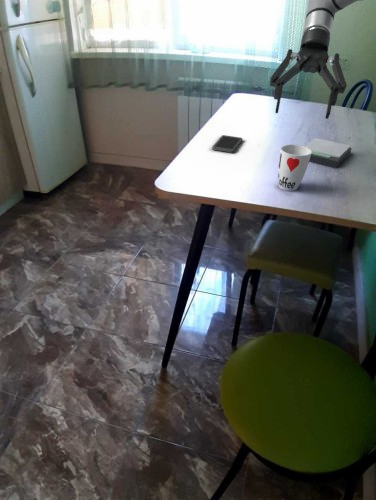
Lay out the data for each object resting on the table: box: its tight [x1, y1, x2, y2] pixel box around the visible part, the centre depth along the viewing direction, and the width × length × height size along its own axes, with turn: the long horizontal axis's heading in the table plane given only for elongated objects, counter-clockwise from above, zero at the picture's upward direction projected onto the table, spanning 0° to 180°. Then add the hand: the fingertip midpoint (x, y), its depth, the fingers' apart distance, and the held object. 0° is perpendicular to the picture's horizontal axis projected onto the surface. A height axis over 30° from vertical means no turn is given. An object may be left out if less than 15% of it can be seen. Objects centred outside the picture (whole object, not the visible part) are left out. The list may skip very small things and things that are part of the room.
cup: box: [277, 144, 312, 192], centre depth 111 cm, size 8×8×10 cm
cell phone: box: [211, 134, 243, 154], centre depth 137 cm, size 7×14×1 cm, turn 162°
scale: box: [304, 137, 353, 169], centre depth 133 cm, size 13×15×3 cm
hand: (302, 113), depth 111 cm, fingers open, 13 cm apart
